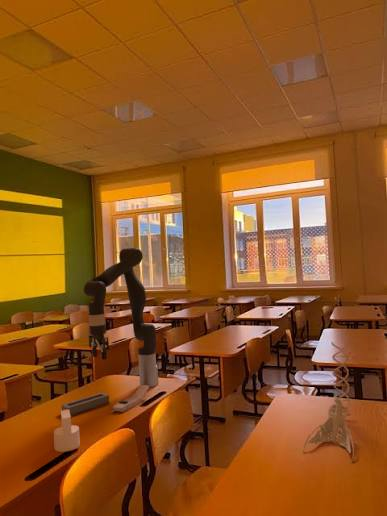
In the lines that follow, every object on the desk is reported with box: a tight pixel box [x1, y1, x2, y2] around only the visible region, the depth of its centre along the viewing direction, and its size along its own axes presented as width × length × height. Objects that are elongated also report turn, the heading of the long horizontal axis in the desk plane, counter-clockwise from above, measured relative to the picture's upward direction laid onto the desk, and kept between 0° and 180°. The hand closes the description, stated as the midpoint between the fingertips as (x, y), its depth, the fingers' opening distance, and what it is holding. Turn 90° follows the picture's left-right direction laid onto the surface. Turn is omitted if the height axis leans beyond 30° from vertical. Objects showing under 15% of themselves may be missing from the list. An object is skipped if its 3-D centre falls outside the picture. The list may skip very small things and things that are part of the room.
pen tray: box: [61, 392, 110, 417], centre depth 192 cm, size 21×6×4 cm, turn 134°
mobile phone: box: [110, 384, 150, 414], centre depth 194 cm, size 6×6×25 cm
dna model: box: [331, 341, 351, 414], centre depth 168 cm, size 7×6×30 cm
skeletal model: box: [302, 398, 355, 463], centre depth 144 cm, size 16×9×25 cm
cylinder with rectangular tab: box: [53, 409, 81, 453], centre depth 153 cm, size 9×9×12 cm
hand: (99, 358), depth 193 cm, fingers open, 8 cm apart
